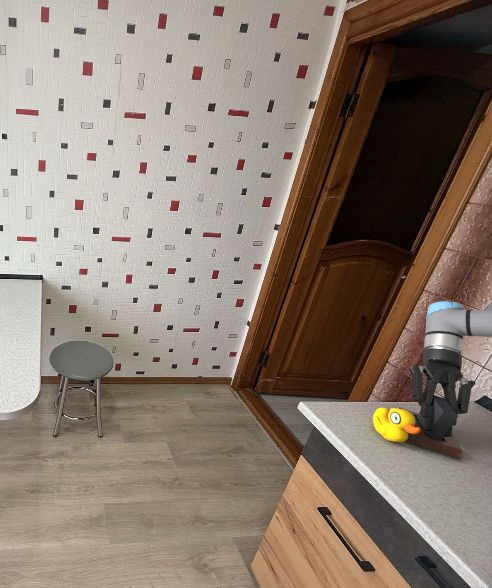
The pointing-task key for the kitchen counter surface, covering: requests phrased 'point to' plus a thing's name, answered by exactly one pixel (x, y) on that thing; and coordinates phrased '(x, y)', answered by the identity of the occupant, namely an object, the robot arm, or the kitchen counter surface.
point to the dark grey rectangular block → (439, 418)
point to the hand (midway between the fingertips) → (437, 433)
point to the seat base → (435, 441)
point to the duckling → (394, 424)
